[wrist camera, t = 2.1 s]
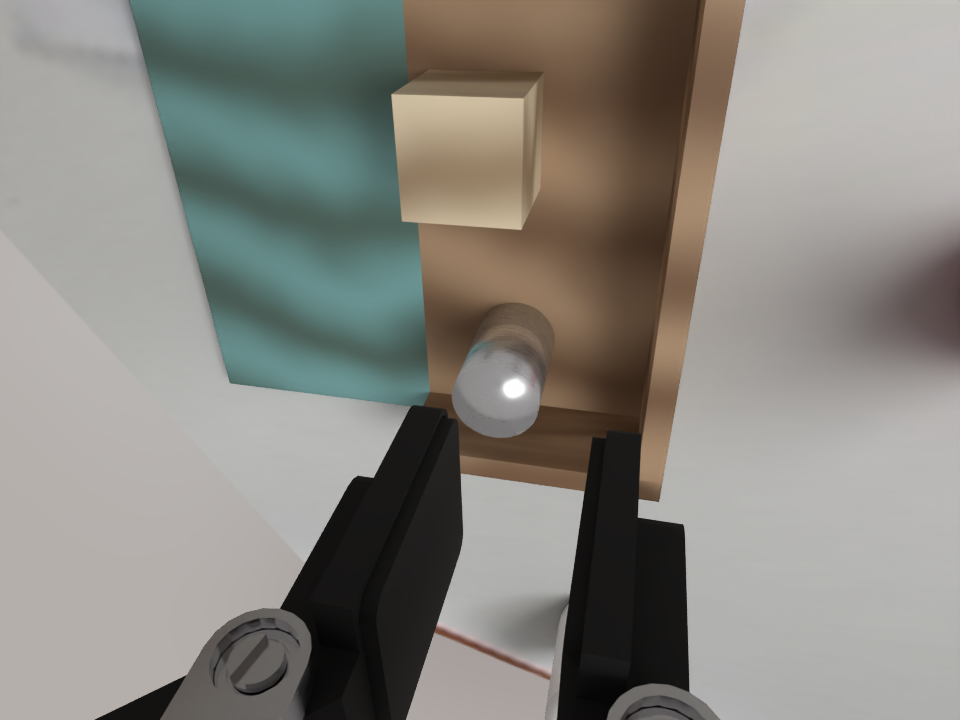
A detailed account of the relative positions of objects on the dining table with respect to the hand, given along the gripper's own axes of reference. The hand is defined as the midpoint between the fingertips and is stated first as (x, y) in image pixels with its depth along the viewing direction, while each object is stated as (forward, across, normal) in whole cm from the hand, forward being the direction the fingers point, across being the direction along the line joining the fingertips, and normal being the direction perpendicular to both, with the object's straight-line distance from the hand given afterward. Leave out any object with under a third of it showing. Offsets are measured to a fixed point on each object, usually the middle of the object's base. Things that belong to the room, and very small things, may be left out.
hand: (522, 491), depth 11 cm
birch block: (+22, +6, 0) cm, 23 cm away
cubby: (+23, +9, +4) cm, 25 cm away
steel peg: (+22, +4, +10) cm, 25 cm away
